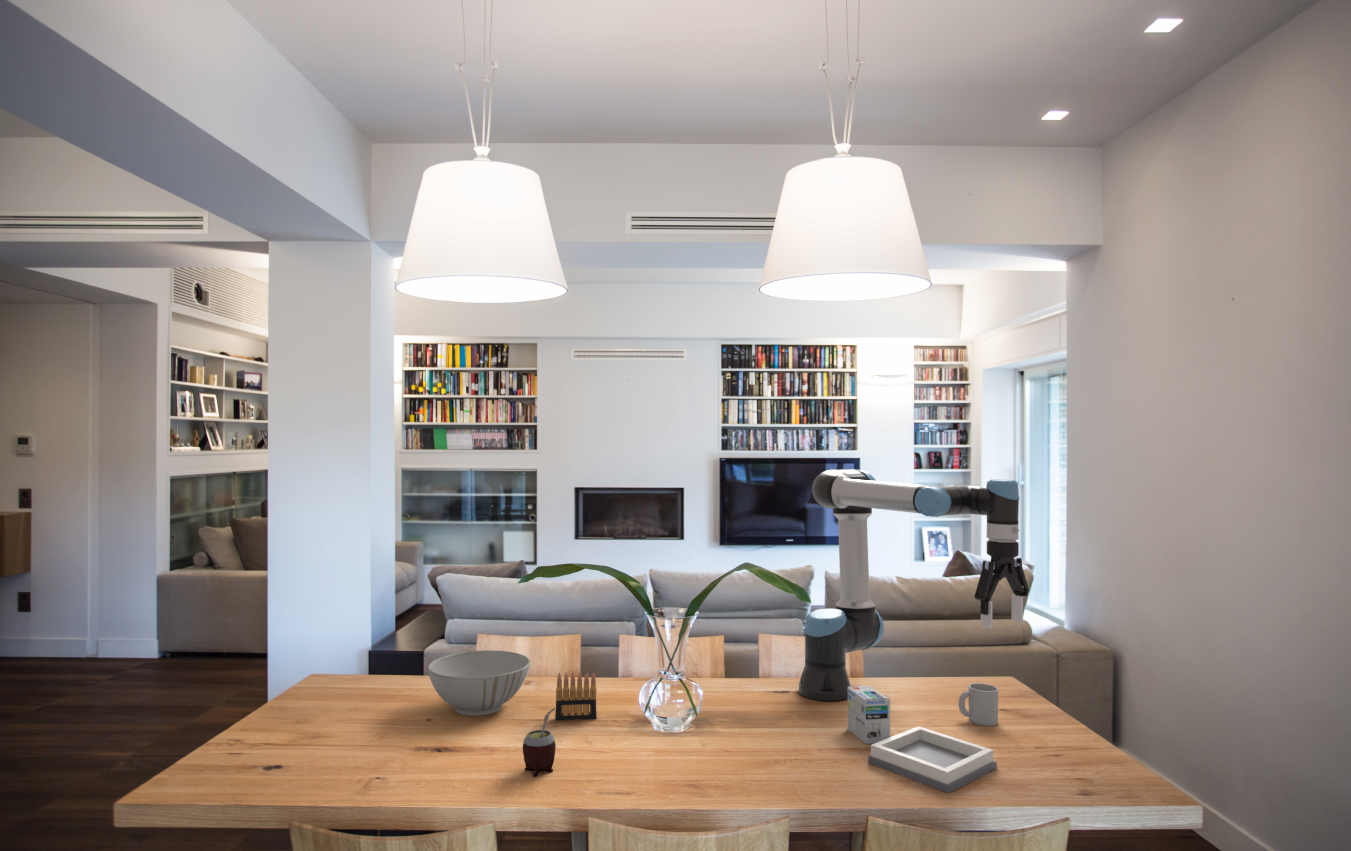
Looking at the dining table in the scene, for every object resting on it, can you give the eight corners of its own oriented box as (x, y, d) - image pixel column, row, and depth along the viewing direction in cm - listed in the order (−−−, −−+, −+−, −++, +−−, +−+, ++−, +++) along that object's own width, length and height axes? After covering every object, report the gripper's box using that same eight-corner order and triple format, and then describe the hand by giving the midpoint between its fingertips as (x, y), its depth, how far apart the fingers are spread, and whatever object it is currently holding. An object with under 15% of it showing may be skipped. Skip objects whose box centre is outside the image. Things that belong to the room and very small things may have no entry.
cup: (1002, 727, 199) (1002, 691, 200) (963, 726, 200) (963, 691, 200) (992, 717, 207) (991, 683, 207) (954, 716, 207) (954, 682, 207)
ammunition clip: (555, 720, 200) (555, 673, 201) (555, 718, 202) (555, 671, 203) (596, 719, 202) (597, 672, 202) (596, 716, 204) (597, 670, 204)
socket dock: (867, 762, 176) (867, 744, 176) (917, 741, 188) (917, 725, 189) (948, 793, 160) (948, 773, 160) (996, 768, 173) (996, 750, 173)
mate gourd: (527, 763, 173) (529, 695, 174) (562, 765, 172) (563, 697, 173) (517, 777, 166) (518, 706, 166) (553, 779, 165) (554, 708, 165)
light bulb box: (891, 742, 188) (891, 697, 188) (865, 744, 186) (865, 699, 187) (870, 727, 198) (870, 684, 198) (846, 729, 197) (846, 686, 197)
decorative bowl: (517, 727, 196) (518, 678, 196) (411, 725, 196) (412, 676, 196) (538, 693, 222) (538, 650, 223) (445, 691, 223) (446, 649, 223)
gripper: (987, 545, 187) (986, 633, 187) (1043, 538, 202) (1043, 621, 201) (960, 541, 193) (959, 627, 193) (1016, 535, 208) (1015, 615, 207)
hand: (1002, 624), depth 197 cm, fingers open, 13 cm apart
